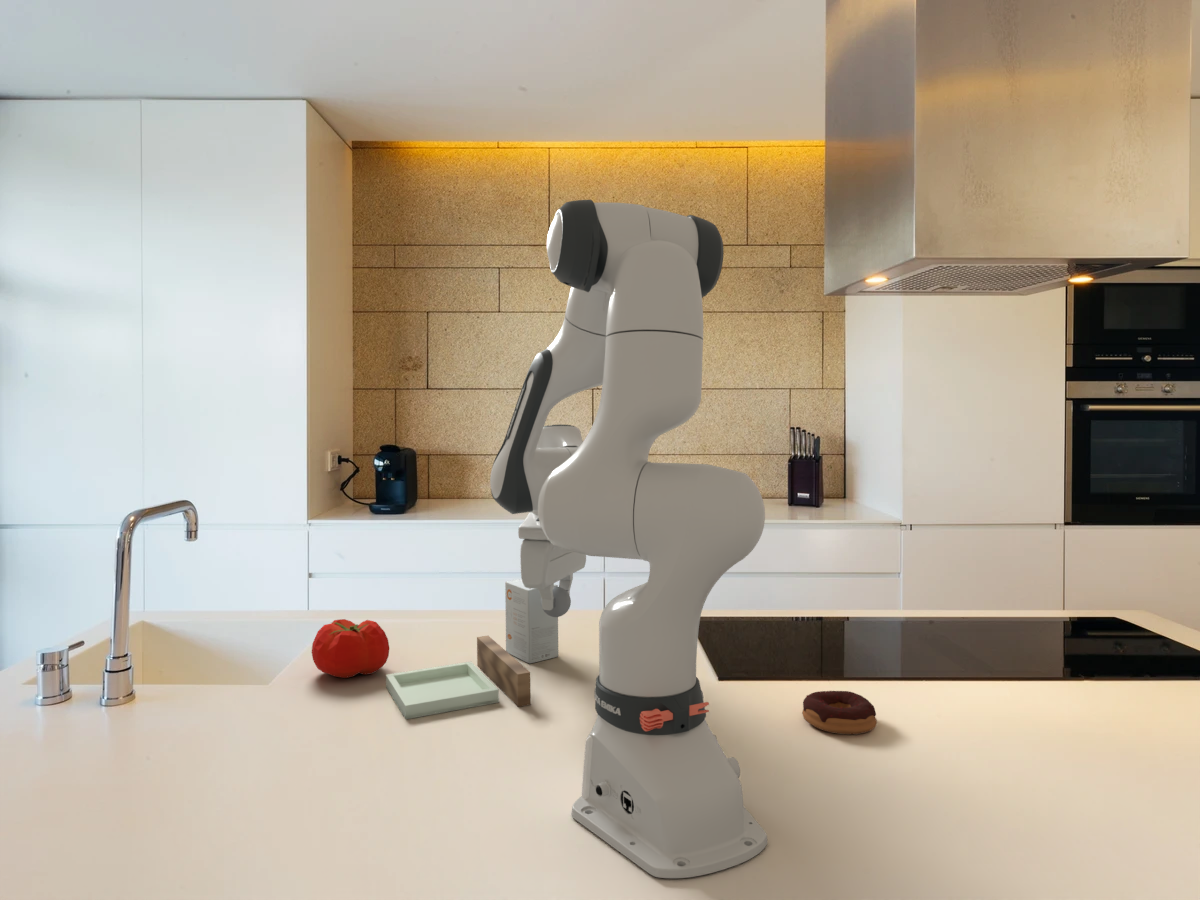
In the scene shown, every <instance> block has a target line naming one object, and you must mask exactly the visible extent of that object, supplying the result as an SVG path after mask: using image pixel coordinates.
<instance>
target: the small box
mask: <svg viewBox="0 0 1200 900" xmlns="http://www.w3.org/2000/svg"><path fill="white" fill-rule="evenodd" d="M504 587H505V589H504V590H505V591H504V592H505V651H507V652H508V653H509V654H510V655H511V656H512V657H514V658H518V659H519V660H521V661H523V662H525V663H527V664H534V663H539V662H542V661H546V660H550V659H555V658H557V657H559V617H552V616H549V615H547V614H546V613H545V612H544V611H543V609H542V606H541V595H540V592H539V589H534V588H526V587H525V586H524V584H523V582H522V578H520V579H513V580H507V581H505V586H504ZM554 587H559V584H556V583H554Z"/></svg>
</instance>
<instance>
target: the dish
mask: <svg viewBox="0 0 1200 900" xmlns="http://www.w3.org/2000/svg"><path fill="white" fill-rule="evenodd" d="M497 687H498V686H497V685H496V684H495V683H494V682H493V681H492V680H491V679H490V678H489V677H488V676H487V675H486V674H485V673H484V672H483V671H482V670H481V669H480V668H479V667H478V666H476V665H475V664H474V663H473V662H472V661H471V660H470V661H466V662H459V663H458V662H457V663H452V664H445V665H438V666H434V667H426V668H425V667H424V668H419V669H414V670H407V671H402V672H394V673H388V674H385V688H386V689H387V691H388V692H389V694H390V695H391V697H392V700H393V701H394V702H395V704H396V705H397V707H398V709H399V711H400V712H401V714H402V716H403V717H404V719H405V720H408V719H414V718H420V717H426V716H432V715H437V714H443V713H447V712H452V711H453V712H454V711H459V710H464V709H469V708H476V707H480V706H481V707H482V706H486V705H492V704H498V703H499V702H500V701H499V699H500V698H499V691H500V689H499V687H498V688H497Z"/></svg>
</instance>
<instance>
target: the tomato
mask: <svg viewBox="0 0 1200 900" xmlns="http://www.w3.org/2000/svg"><path fill="white" fill-rule="evenodd" d="M386 634H387V633H386V632H385V631H384V629H383V628H382V627H381V626H380V624H378V623H377V622H376V621H374V620H369V619H366V620H363V621H362V622H360V623H359V624H356V623H354V622H353V621H351V620H349V619H346V618H344V619H342V618H341V619H335V620H333V621H332V622H330V623H327V624H323V626H322V627H320V629H319V630H318V631H317V632H316V635H315V637H314V639H313V642H312V646H311V656H312V661H313V663H314V665H315V667H316V668H317V669H318V670H319V671H320V672H322V673H325V674H328V675H331V676H332V677H333V676H334V677H336V678H344V679H348V678H351V677H354V676H356V675H358V674H362V675H371V674H374V673H376V672H378V671H379V670H380V669H381V668H383V666H384V665H385V664H386V663H387V661H388V658H389V654H390V645H389V643H390V642H389V638H388V636H387V635H386Z"/></svg>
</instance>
